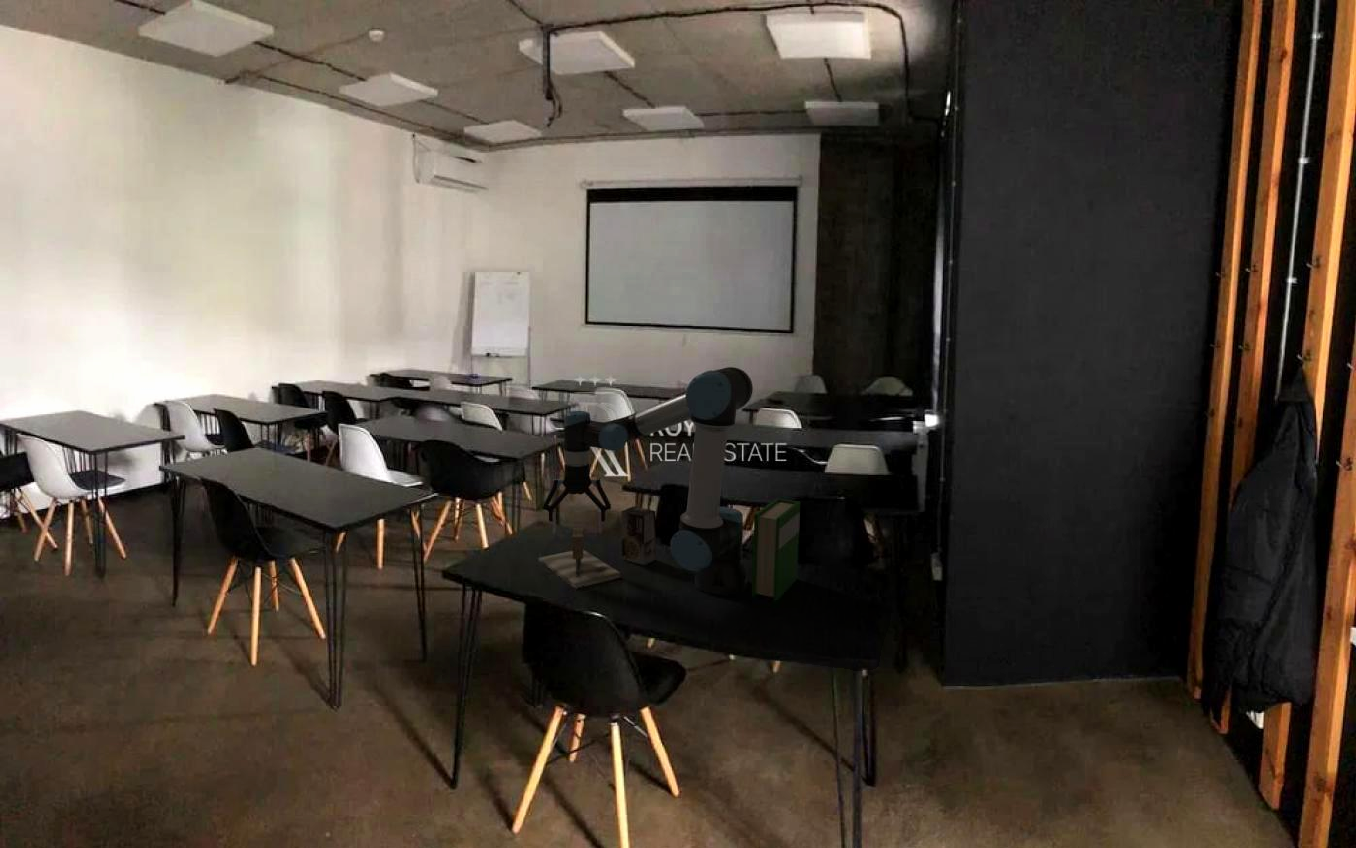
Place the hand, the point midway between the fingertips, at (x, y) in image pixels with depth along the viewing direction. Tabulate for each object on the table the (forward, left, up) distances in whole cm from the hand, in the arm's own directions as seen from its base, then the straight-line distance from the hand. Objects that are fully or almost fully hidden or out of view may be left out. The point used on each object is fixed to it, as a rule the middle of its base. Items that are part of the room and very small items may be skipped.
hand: (577, 531), depth 231 cm
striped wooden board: (0, 0, -12) cm, 12 cm away
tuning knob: (-2, +1, -10) cm, 11 cm away
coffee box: (-3, -20, -12) cm, 24 cm away
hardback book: (-43, -41, -12) cm, 61 cm away
